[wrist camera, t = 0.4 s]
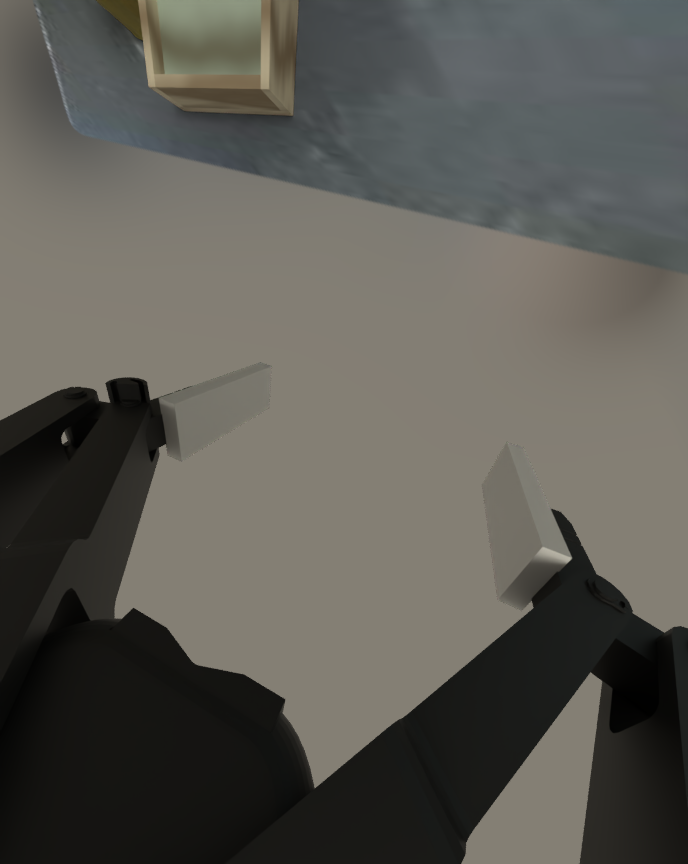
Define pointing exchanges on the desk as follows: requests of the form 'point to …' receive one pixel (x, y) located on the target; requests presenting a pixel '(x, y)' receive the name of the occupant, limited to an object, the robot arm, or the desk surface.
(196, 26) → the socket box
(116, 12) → the vase
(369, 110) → the desk surface
